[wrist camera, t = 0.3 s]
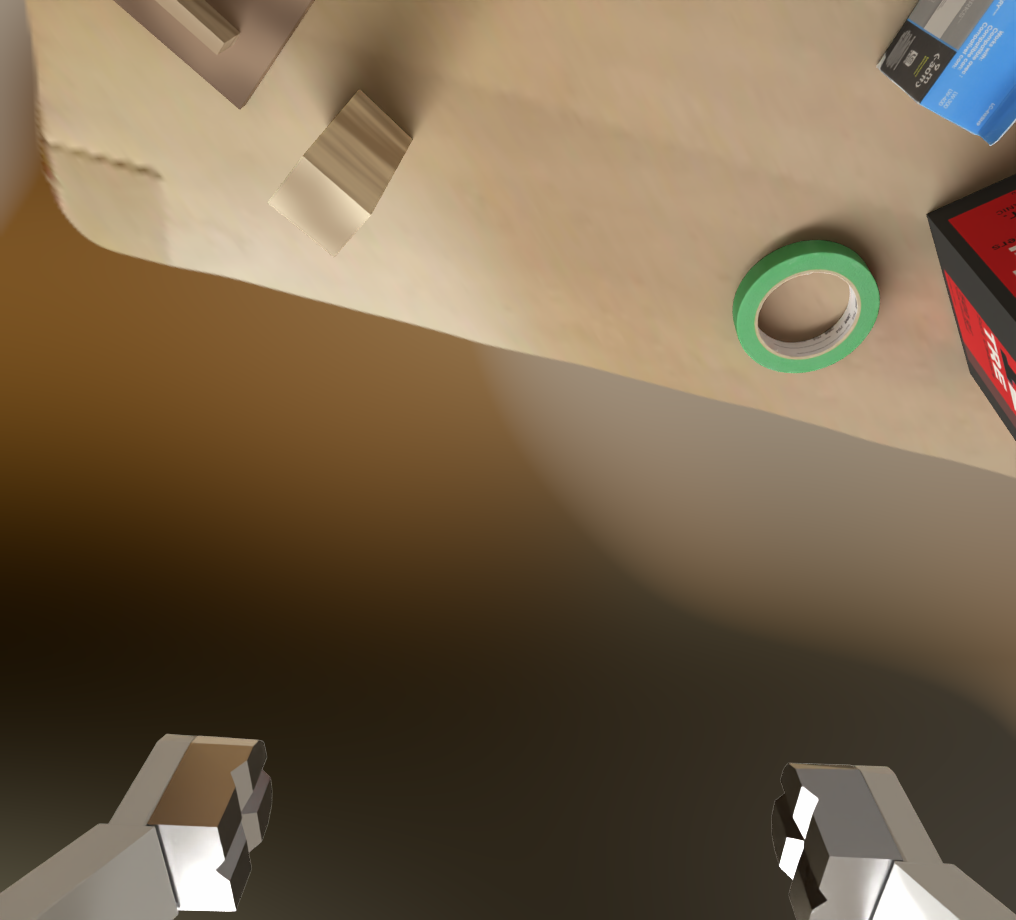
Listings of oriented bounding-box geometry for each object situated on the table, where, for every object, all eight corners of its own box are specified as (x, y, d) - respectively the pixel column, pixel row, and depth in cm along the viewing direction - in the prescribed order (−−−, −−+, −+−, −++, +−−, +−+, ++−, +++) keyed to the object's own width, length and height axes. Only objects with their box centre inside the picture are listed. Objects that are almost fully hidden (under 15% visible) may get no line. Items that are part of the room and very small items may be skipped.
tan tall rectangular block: (359, 88, 54) (302, 155, 43) (412, 139, 56) (370, 215, 45) (328, 129, 56) (267, 202, 45) (381, 176, 58) (334, 257, 47)
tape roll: (798, 212, 57) (805, 226, 55) (901, 282, 60) (911, 298, 58) (704, 318, 64) (708, 334, 62) (801, 376, 67) (807, 393, 65)
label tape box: (972, -84, 44) (1070, -57, 35) (1026, -54, 45) (1137, -19, 36) (873, 65, 50) (935, 123, 41) (922, 90, 51) (995, 152, 42)
